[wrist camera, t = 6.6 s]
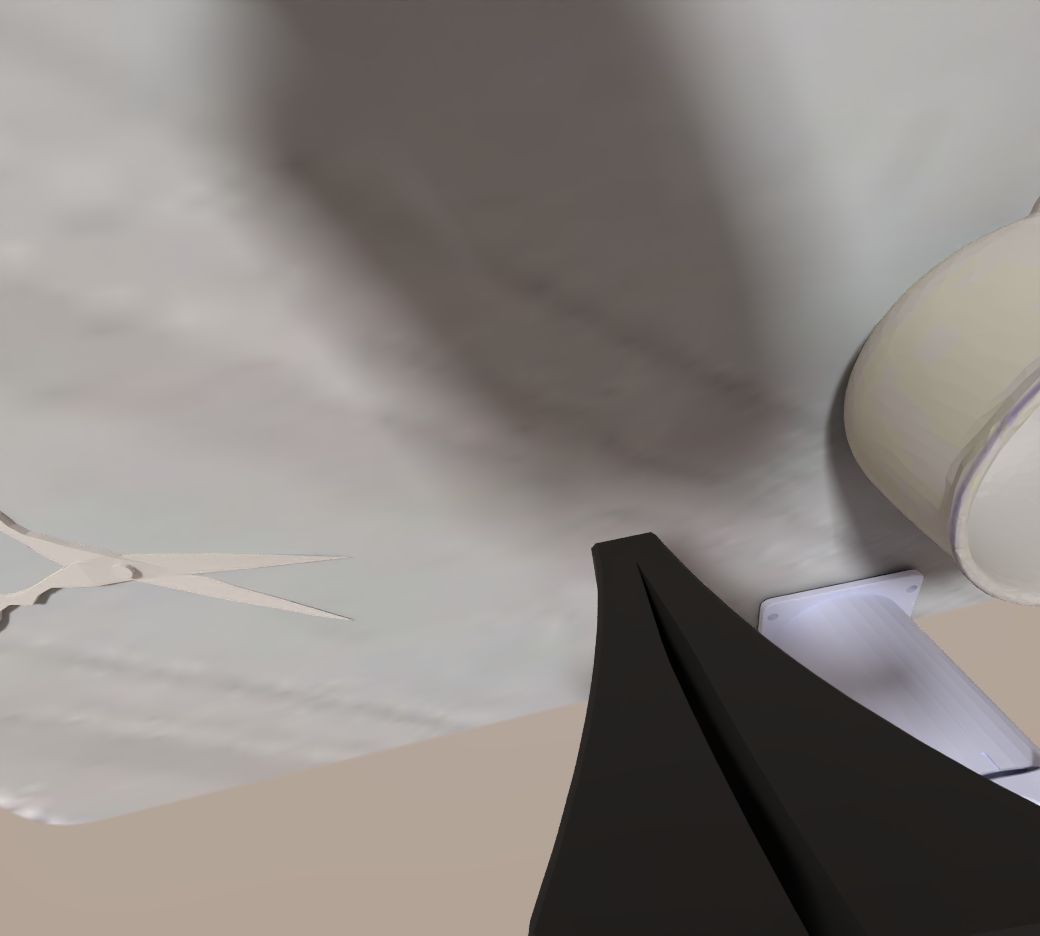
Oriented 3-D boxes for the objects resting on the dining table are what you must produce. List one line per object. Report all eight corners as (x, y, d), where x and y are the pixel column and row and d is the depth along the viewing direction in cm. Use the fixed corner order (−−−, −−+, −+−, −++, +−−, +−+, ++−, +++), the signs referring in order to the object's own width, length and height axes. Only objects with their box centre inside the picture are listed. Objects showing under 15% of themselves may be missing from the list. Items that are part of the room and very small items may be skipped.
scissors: (-286, 424, 15) (358, 500, 19) (-255, 414, 16) (361, 489, 19) (-128, 641, 21) (351, 670, 24) (-108, 627, 21) (354, 657, 25)
